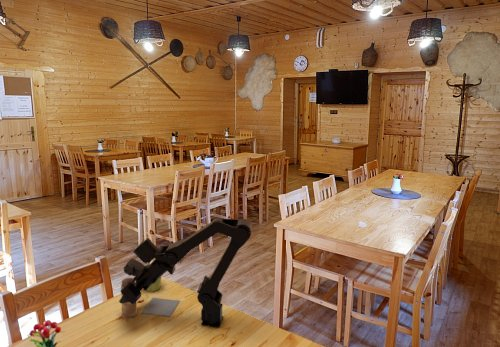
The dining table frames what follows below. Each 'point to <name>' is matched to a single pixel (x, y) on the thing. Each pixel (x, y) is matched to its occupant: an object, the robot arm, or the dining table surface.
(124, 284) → the oak pepper mill
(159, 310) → the slate coaster
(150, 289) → the plant pot
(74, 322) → the dining table surface
